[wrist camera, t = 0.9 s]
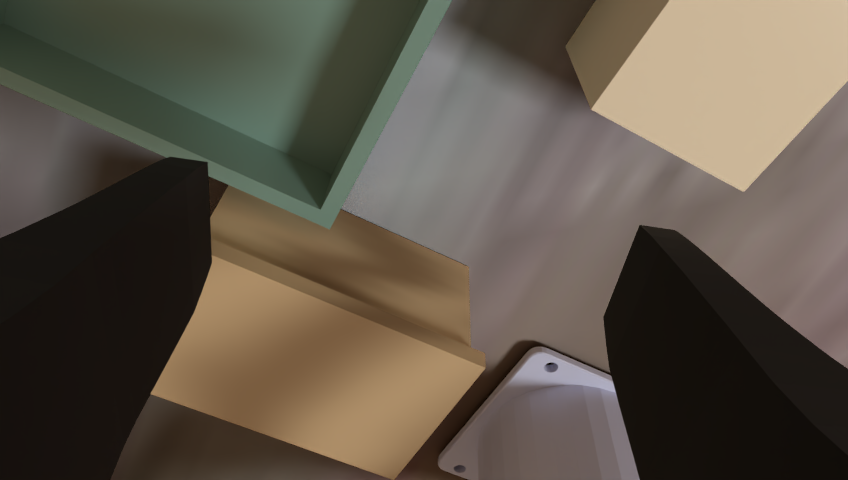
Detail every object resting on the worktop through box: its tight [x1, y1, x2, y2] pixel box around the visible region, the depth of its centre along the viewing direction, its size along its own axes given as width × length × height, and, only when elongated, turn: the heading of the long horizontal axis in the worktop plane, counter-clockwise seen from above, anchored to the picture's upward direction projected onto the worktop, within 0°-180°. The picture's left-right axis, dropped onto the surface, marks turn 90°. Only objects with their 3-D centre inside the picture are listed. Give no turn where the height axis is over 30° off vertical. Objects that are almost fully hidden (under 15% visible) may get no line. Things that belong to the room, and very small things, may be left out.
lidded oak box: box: [151, 185, 486, 480], centre depth 22 cm, size 9×6×5 cm, turn 62°
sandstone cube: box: [565, 0, 848, 192], centre depth 17 cm, size 4×4×4 cm
